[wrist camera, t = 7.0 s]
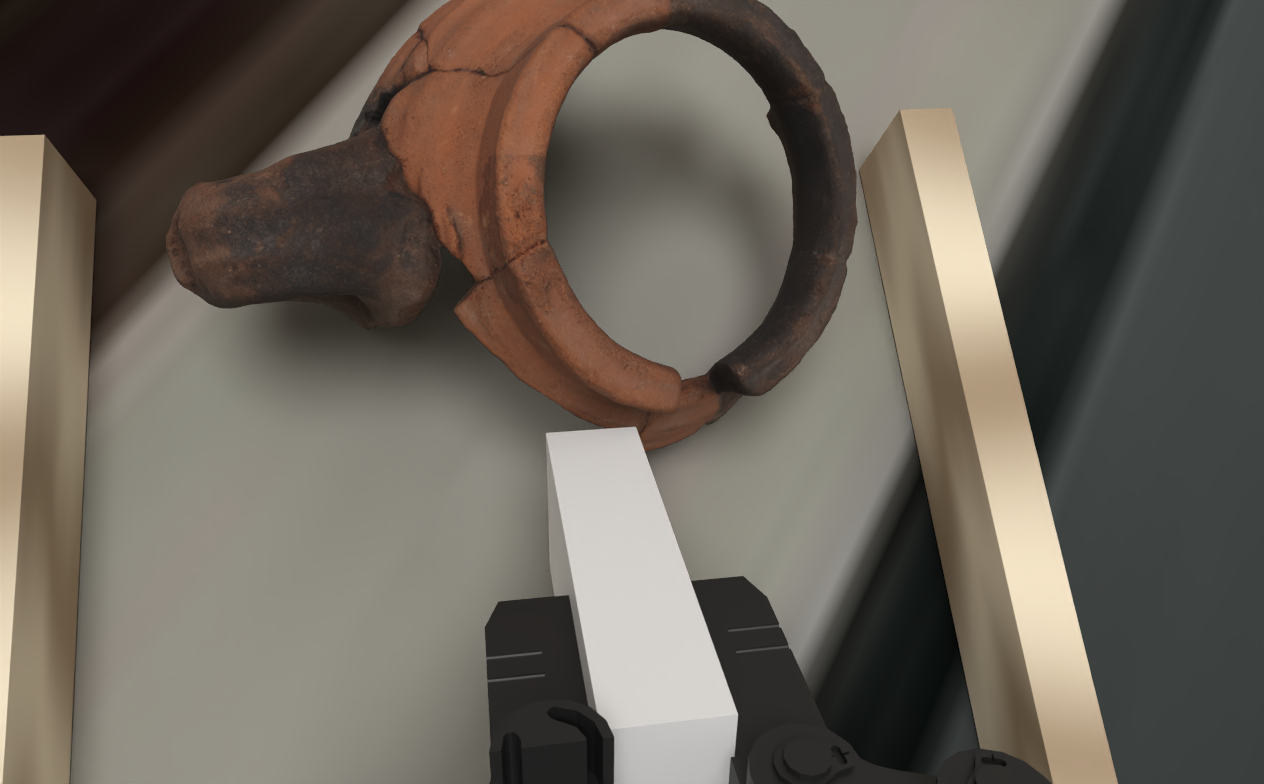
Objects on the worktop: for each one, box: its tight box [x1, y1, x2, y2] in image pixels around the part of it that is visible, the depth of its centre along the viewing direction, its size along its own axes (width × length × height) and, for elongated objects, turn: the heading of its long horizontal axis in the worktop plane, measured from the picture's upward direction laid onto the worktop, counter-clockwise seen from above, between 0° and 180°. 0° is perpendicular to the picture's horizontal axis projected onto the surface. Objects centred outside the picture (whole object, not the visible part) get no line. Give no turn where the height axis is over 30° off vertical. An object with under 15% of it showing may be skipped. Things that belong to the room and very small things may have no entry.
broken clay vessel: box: [166, 0, 858, 451], centre depth 19 cm, size 12×9×8 cm
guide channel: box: [0, 108, 1118, 784], centre depth 19 cm, size 14×19×2 cm
